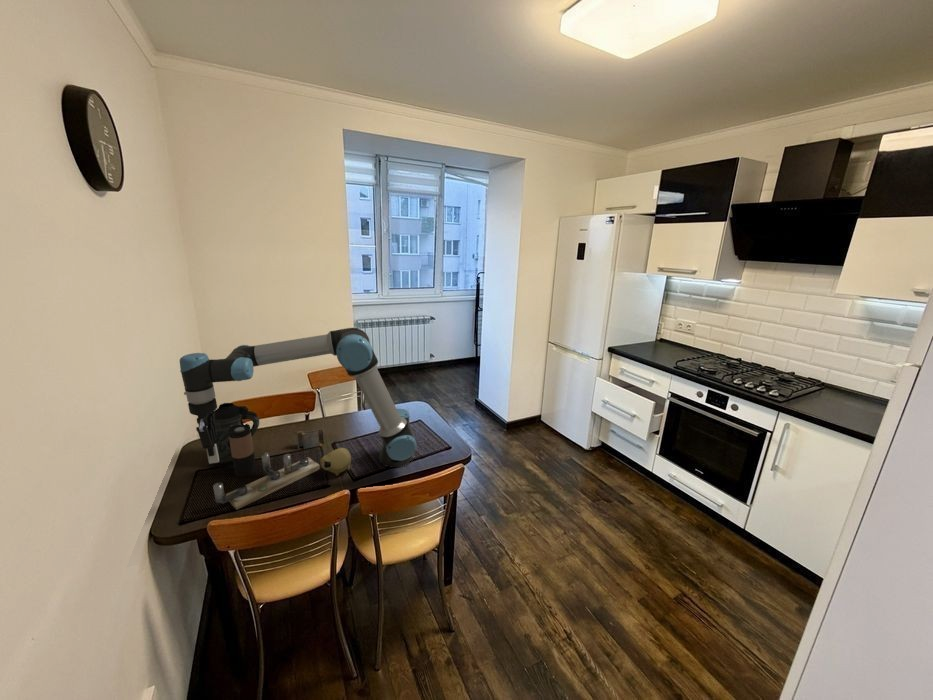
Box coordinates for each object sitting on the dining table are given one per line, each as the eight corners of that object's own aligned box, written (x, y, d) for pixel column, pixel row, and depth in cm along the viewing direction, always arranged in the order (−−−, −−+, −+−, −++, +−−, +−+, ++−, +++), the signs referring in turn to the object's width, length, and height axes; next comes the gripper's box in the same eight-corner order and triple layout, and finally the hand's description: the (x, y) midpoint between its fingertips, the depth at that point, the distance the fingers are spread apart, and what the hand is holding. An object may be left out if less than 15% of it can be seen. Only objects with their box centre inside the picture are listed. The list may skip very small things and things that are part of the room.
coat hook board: (319, 469, 153) (319, 463, 152) (236, 509, 128) (235, 503, 127) (308, 460, 158) (307, 455, 157) (226, 498, 133) (225, 492, 133)
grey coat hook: (306, 461, 154) (304, 445, 151) (310, 463, 152) (308, 447, 150) (283, 472, 146) (281, 455, 144) (287, 475, 144) (285, 458, 142)
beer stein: (204, 456, 158) (194, 404, 151) (253, 440, 172) (246, 392, 164) (215, 473, 147) (205, 418, 140) (266, 454, 161) (259, 403, 154)
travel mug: (241, 479, 144) (233, 435, 138) (231, 472, 148) (223, 429, 142) (260, 470, 150) (254, 427, 145) (250, 463, 154) (243, 421, 148)
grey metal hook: (281, 477, 143) (279, 460, 140) (273, 481, 140) (271, 464, 138) (269, 467, 148) (267, 451, 146) (261, 471, 146) (259, 454, 144)
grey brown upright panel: (298, 451, 166) (296, 432, 163) (298, 447, 168) (296, 428, 165) (324, 446, 170) (323, 427, 167) (324, 443, 173) (323, 424, 170)
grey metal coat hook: (245, 489, 135) (242, 471, 133) (249, 492, 134) (246, 475, 131) (214, 503, 127) (211, 485, 125) (218, 507, 126) (215, 488, 124)
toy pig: (318, 470, 152) (316, 448, 149) (347, 461, 158) (346, 440, 155) (325, 483, 144) (323, 459, 141) (354, 473, 151) (353, 451, 148)
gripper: (193, 393, 123) (206, 454, 130) (181, 409, 112) (196, 475, 119) (219, 390, 126) (230, 450, 133) (210, 406, 115) (222, 470, 122)
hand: (214, 461), depth 126 cm, fingers closed
